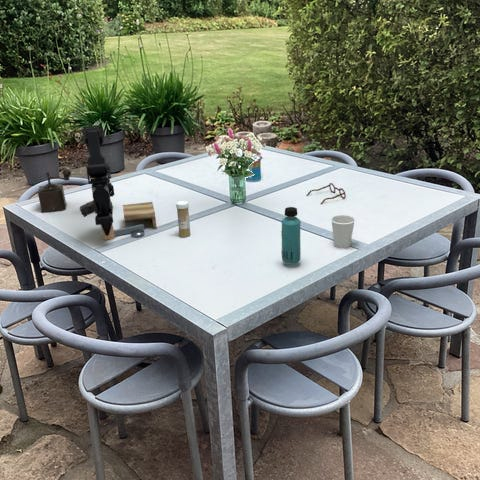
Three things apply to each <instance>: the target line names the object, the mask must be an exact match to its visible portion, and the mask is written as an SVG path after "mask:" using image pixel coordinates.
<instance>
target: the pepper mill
mask: <svg viewBox="0 0 480 480" xmlns="http://www.w3.org/2000/svg"><path fill="white" fill-rule="evenodd" d="M61 173H62V175H63V177H61V176H54V175H53V176H51V175H50V172H48V171H47V172H45V174H46V176H45V177H46V178H47V182H48V183H47V184H45V185H41V186H39V188H38V191H37V195H38V201H39V206H40V210H41V213H42V214H44V213H54V212H61V211H64V210H66V209H67V201H66V196H65V190H64V189H65V188H64V185H63V183H58V184H57V183H53V182H51V179H54V180H55V179H57V180H64V181H65V182H67V181H69V180H70V176H72V171H71V170H70V169H68V168H64V169H63V170H62V172H61Z"/></svg>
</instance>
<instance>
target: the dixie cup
mask: <svg viewBox="0 0 480 480" xmlns="http://www.w3.org/2000/svg"><path fill="white" fill-rule="evenodd" d="M330 221H331V227H332V229H331V230H332V235H333V236H332V238H333V245H334V247H335V248H338V249H347V248H350V247H351V242H352V237H353V231H354V226H355V221H356V219H355V217H353V216H351V215H348V214H338V215H333V216H332V217H331V218H330Z"/></svg>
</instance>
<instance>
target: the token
mask: <svg viewBox="0 0 480 480" xmlns="http://www.w3.org/2000/svg"><path fill="white" fill-rule="evenodd" d="M130 234H131V237H132V238H134V239H139V238H142V237H144V236H145V230H134V231H132V232H131V233H130Z"/></svg>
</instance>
